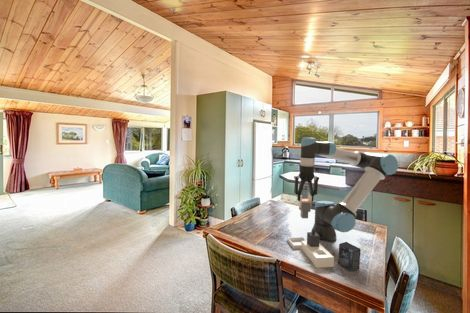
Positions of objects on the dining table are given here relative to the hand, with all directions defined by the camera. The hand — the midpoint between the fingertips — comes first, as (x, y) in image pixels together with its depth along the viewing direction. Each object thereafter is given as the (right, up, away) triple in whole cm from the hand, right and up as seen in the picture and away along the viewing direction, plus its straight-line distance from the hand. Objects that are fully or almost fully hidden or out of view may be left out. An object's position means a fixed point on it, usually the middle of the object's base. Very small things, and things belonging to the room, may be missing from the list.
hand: (304, 206), depth 122 cm
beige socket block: (+7, -26, -6) cm, 27 cm away
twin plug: (+3, -25, -2) cm, 26 cm away
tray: (-2, -25, +7) cm, 25 cm away
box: (+17, -27, -14) cm, 35 cm away
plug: (0, -6, +1) cm, 6 cm away
